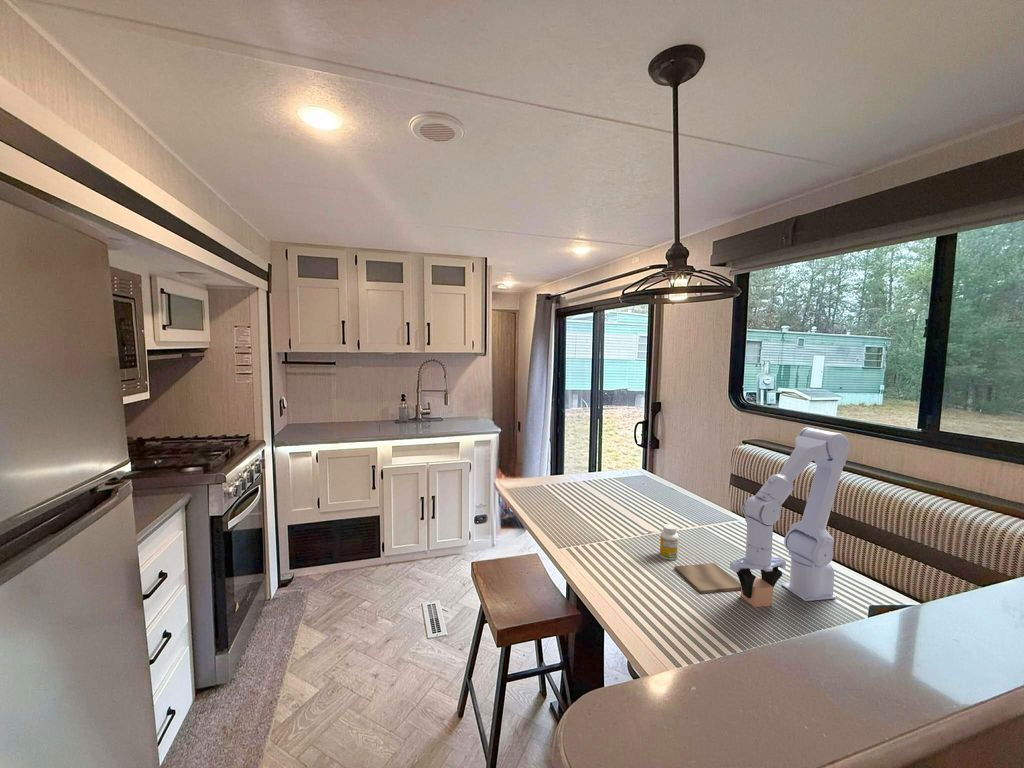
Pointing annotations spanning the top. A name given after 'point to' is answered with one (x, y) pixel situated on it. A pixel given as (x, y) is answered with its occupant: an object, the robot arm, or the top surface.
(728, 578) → the walnut board
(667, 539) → the supplement bottle
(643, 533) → the top surface
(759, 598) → the terracotta block
